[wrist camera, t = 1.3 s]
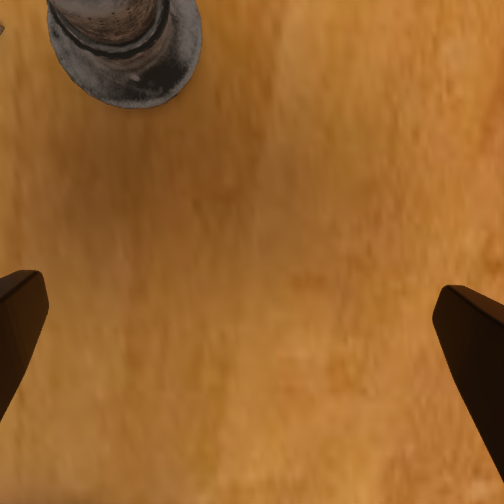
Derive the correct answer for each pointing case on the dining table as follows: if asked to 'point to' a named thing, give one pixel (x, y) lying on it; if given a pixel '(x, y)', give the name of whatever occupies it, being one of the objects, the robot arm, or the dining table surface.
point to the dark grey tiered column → (127, 47)
